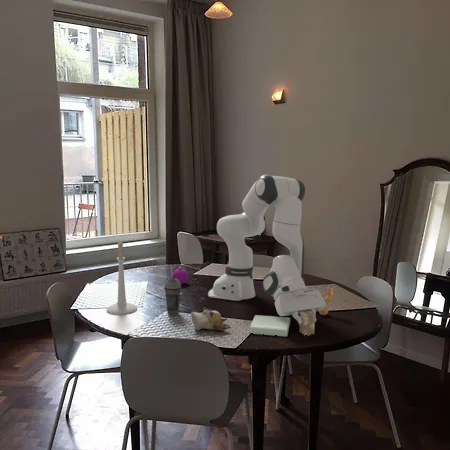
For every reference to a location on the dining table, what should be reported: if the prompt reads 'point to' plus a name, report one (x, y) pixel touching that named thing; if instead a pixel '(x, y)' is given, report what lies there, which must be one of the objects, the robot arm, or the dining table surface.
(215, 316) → the ceramic sculpture
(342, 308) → the dining table surface
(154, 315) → the dining table surface
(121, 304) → the candlestick
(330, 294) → the figurine
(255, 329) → the sage board
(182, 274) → the christmas ornament
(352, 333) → the dining table surface
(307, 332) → the tan block
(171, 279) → the beverage cup
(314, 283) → the dining table surface
